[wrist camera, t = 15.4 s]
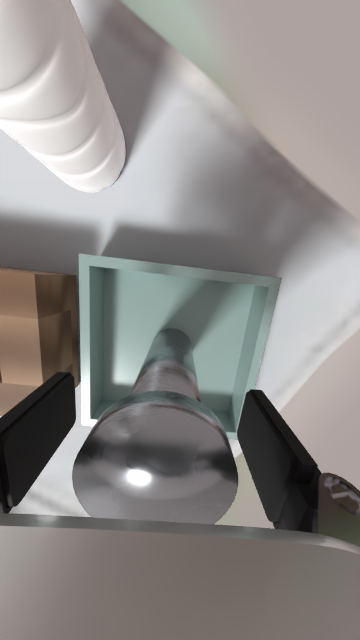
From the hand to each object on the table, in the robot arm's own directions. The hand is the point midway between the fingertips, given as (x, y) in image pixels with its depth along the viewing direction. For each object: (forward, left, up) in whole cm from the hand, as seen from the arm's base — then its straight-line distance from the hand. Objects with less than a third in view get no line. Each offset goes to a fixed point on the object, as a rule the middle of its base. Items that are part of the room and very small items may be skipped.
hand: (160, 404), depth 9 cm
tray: (0, 0, -9) cm, 9 cm away
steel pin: (0, 0, -9) cm, 9 cm away
